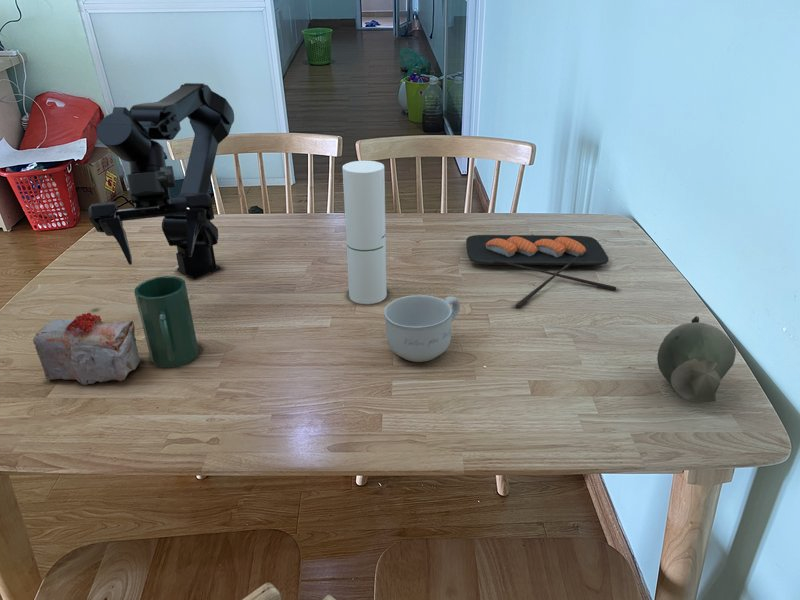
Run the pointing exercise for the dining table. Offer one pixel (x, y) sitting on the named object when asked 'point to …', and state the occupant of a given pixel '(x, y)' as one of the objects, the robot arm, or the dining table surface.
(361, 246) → the cylindrical container
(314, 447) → the dining table surface
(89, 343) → the food item
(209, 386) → the dining table surface
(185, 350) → the mug
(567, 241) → the sushi plate
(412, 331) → the teacup
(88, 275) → the dining table surface
